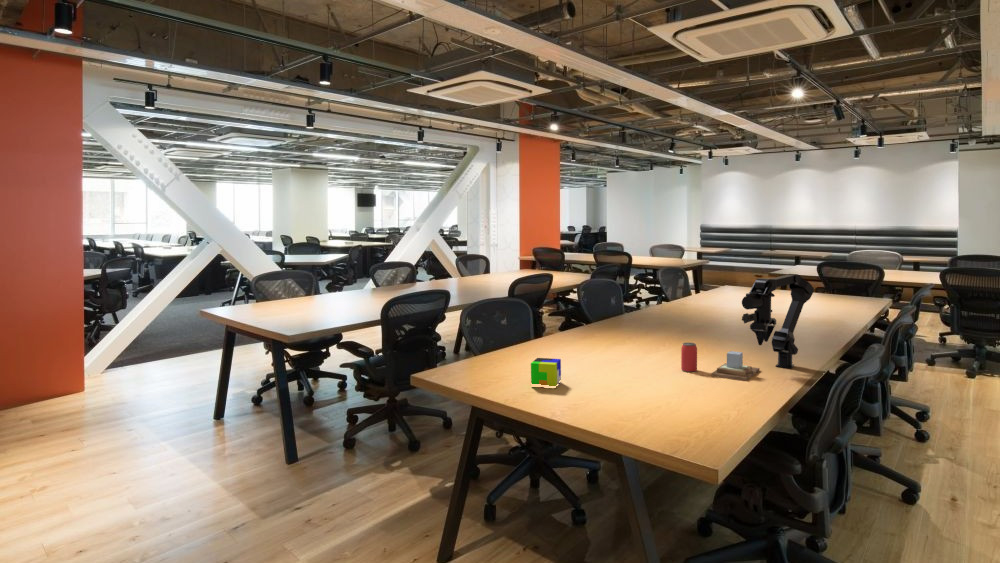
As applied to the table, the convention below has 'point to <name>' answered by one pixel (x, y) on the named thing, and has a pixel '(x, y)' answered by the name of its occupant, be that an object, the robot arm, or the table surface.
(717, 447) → the table surface
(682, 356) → the beer can
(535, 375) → the puzzle toy
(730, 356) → the block
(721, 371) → the base
